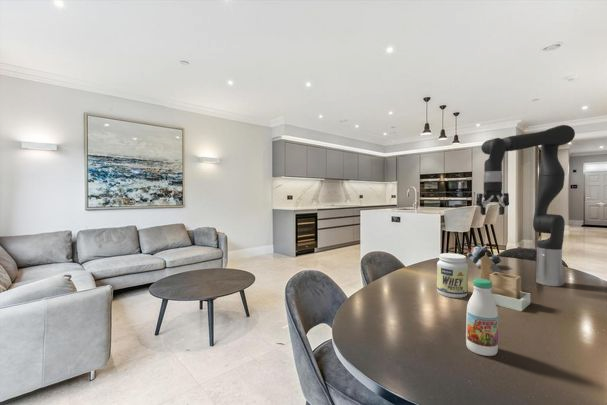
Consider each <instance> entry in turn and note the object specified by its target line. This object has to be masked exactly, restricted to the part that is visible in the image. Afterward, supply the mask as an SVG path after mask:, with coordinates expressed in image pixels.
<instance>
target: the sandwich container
mask: <svg viewBox="0 0 607 405" xmlns="http://www.w3.org/2000/svg"><path fill="white" fill-rule="evenodd" d="M494 272H498V273H504V274H506V273H505V272H504V271H503V270H502V269H501V268H500V266H498V264H495V263H494V262H493V261H492V260H491V259H490V258H489V257H488V256H487V255H485V256H483V257H482V258H481V269H480V279H486V280H489V281H490V274H492V273H494ZM520 291H521V292H524V291H523V290H522V289H521V288H520Z"/></svg>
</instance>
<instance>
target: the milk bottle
mask: <svg viewBox="0 0 607 405" xmlns="http://www.w3.org/2000/svg"><path fill="white" fill-rule="evenodd" d="M472 284H473V285H472V287H473V292H472V293H471V294H472V295H470V298H469V300H468V301H467V306H466V320H465V321H466V324H465V325H466V327H465V330H466V331H465V343H466V348H467V349H468V350H469V351H471V352H473V353H474V354H477V355H481V356H485V357H492V356H496V355H497V353H498V349H499V347H498V346H499V312H498V307H497V305H496V304H495V302H494V300H493V298H492V295H491V290H492V282H491V281H489V280H486V279H481V278H474V279H473V280H472Z"/></svg>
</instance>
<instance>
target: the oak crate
mask: <svg viewBox="0 0 607 405" xmlns="http://www.w3.org/2000/svg"><path fill="white" fill-rule="evenodd" d="M504 273H505V272H504ZM504 273H498V272H494V273H492V274H490V281H491V282H492V290H491V293H493V294H497V295H502V296H506V297H510V298H515V299H519V300H520V289H521V284H522V283H521V282H522V281H521V280H522V279H521V278H522V276H520V275H514V274H508V273H505V274H504Z"/></svg>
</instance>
